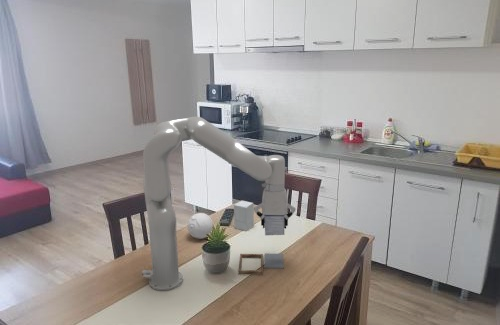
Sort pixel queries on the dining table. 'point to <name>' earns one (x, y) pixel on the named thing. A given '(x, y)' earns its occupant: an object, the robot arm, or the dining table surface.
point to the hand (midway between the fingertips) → (274, 226)
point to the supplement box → (243, 215)
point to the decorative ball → (200, 225)
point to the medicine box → (274, 225)
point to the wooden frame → (250, 272)
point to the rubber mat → (274, 261)
